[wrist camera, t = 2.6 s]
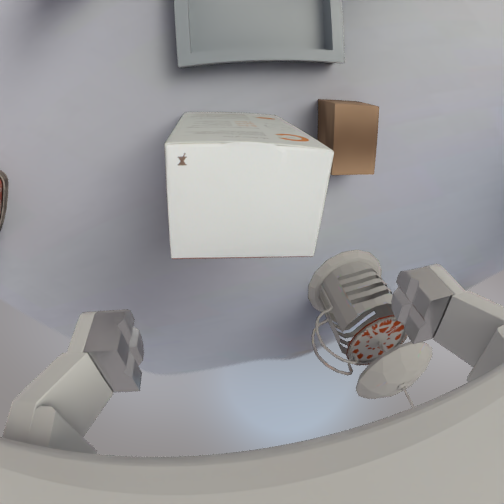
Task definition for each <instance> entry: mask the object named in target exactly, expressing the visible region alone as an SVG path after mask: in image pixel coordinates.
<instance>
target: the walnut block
mask: <svg viewBox="0 0 504 504" xmlns="http://www.w3.org/2000/svg"><path fill="white" fill-rule="evenodd" d="M378 118H379V107H378V106H374V105H370V104H366V103H362V102H357V101H343V100H324V99H318V141H319V142H321V143H322V144H324V145H325V146H327V147H329V148H330V149H332V150H333V151H334V156H333V161H332V167H331V172H330V174H331V175H357V174H374V168H375V158H376V146H377V134H378Z"/></svg>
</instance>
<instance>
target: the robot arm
mask: <svg viewBox="0 0 504 504" xmlns="http://www.w3.org/2000/svg"><path fill="white" fill-rule="evenodd" d="M396 283H397V285H398V288H397V289H396V290H395V291H394V293H393V296H392V300H391V304H392V311H393V314H394V316H395V317H396V319H397V320H398V321H399V322H401V323H403V324H404V331H405V333H406V334H407V336H408V337H409V339H410V340H411V342H412V343H413V344H416V343H419V342H423V341H426V340H429V339H432V338H434V340H435V341H436V342H438V343H439V344H440V345H442V346H443V347H445V348H446V349H448V350H449V351H451V352H452V353H454V354H455V355H456V356H458V357H459V358H461V359H462V360H464V361H465V362H466V363H468V364H469V365H471V366H472V367H474V368H473V369H472V371H471V372H470V373H469V375H468V377H467V381H468V383H466V384H464V385H462V386H460V387H458V388H456V389H454V390H452V391H450V392H448V393H446V394H444V395H441V396H439V397H437V398H434V399H432V400H430V401H428V402H425V403H423V404H420V405H418V406H415V407H413V408H411V409H408V410H405V411H403V412H400V413H397V414H395V415H392V416H390V417H386V418H383V419H381V420H378V421H375V422H372V423H369V424H365V425H362V426H359V427H355V428H352V429H349V430H345V431H342V432H338V433H334V434H330V435H326V436H323V437H318V438H314V439H310V440H305V441H301V442H296V443H291V444H286V445H281V446H275V447H269V448H263V449H256V450H249V451H242V452H233V453H224V454H213V455H199V456H179V457H133V456H114V455H100V454H97V450H96V449H95V448H94V447H93V446H92V445H91V444H90V443H89V442H88V441H86V440H85V439H84V438H83V437H84V436H85V434H86V433H87V431H88V430H89V428H90V427H91V425H92V424H93V423H94V421H95V420H96V418H97V417H98V415H99V414H100V412H101V411H102V410H103V408H104V407H105V405H106V404H107V403H108V401H109V400H110V398H111V397H112V395H113V392H132V391H140V384H141V375H142V372H141V370H140V368H139V365H140V364H141V363H142V361H143V357H144V348H143V341H142V337H141V334H140V331H139V330H138V329H137V328H135V327H134V320H135V319H134V317H133V314H132V312H131V311H130V310H128V309H124V310H108V311H97V312H96V311H95V312H83V313H82V314H81V315H80V316H79V319H78V322H77V324H76V327H75V330H74V333H73V336H72V338H71V341H70V344H69V347H68V350H67V353H62V354H61V355H60V356H59V357H57V358H56V359H55V360H54V361H53V362H52V363H51V364H50V365H49V366H48V367H47V368H46V369H45V370H44V371H43V372H42V373H41V374H39V375H38V376H37V377H36V378H35V379H34V380H33V381H32V382H31V383H30V384H29V385H28V386H27V387H26V388H25V389H24V390H23V391H22V392H21V393H20V394H19V395H18V396H17V397H16V398H15V399H14V400H13V402H12V405H11V408H10V411H9V415H8V418H7V422H6V425H5V429H4V432H3V436H2V437H0V504H504V307H503V306H501V305H499V304H497V303H495V302H493V301H490V300H488V299H486V298H484V297H482V296H480V295H477V294H475V293H473V292H471V291H465V290H464V289H463V288H462V287H461V286H460V285H459V283H458V282H457V281H456V280H455V279H454V278H453V277H452V276H451V275H450V274H449V273H448V272H447V271H446V270H445V269H444V268H443V267H442V266H441V265H439V264H433V265H428V266H425V267H420V268H416V269H411V270H406V271H401V272H400V273H399V275H398V277H397V281H396Z"/></svg>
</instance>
